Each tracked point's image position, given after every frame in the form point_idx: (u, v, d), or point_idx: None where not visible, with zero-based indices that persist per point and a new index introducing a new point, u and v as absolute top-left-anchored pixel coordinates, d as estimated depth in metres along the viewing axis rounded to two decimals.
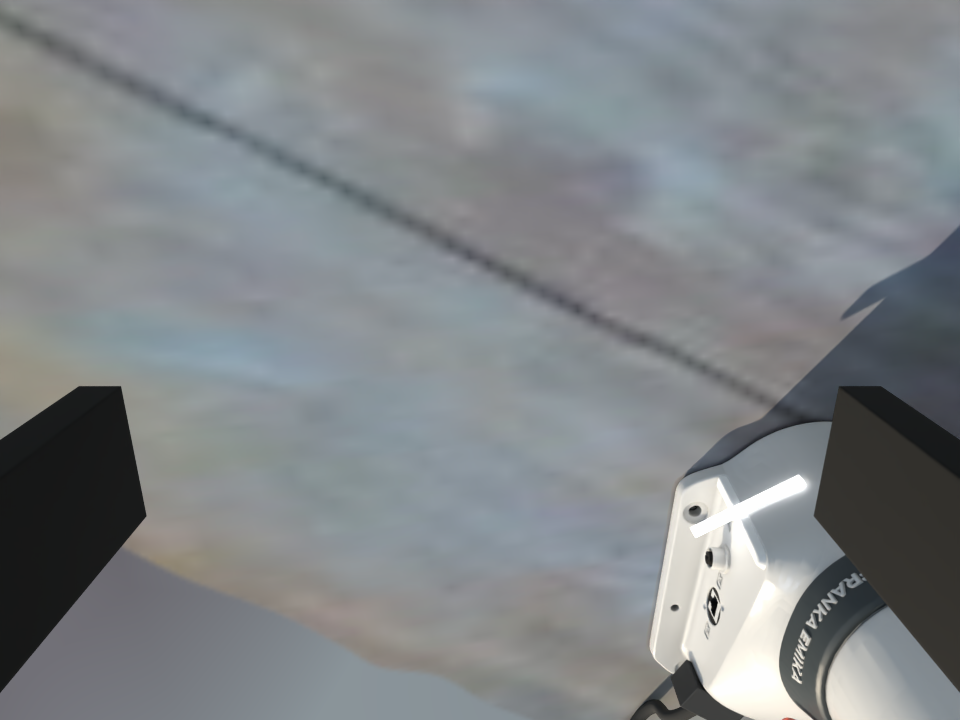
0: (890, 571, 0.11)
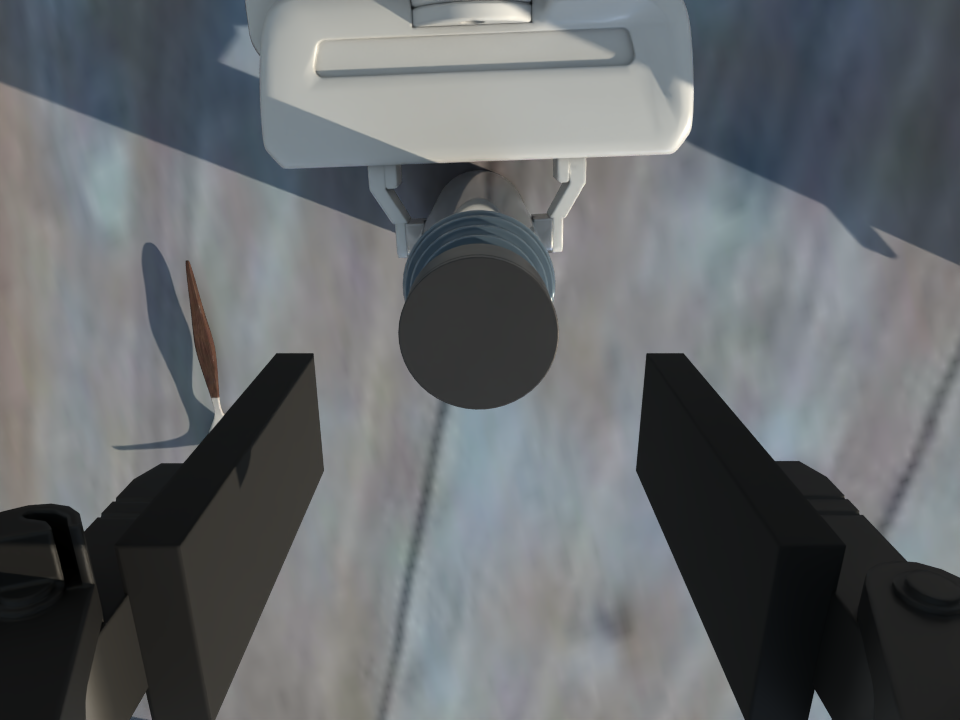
0: (667, 510, 0.12)
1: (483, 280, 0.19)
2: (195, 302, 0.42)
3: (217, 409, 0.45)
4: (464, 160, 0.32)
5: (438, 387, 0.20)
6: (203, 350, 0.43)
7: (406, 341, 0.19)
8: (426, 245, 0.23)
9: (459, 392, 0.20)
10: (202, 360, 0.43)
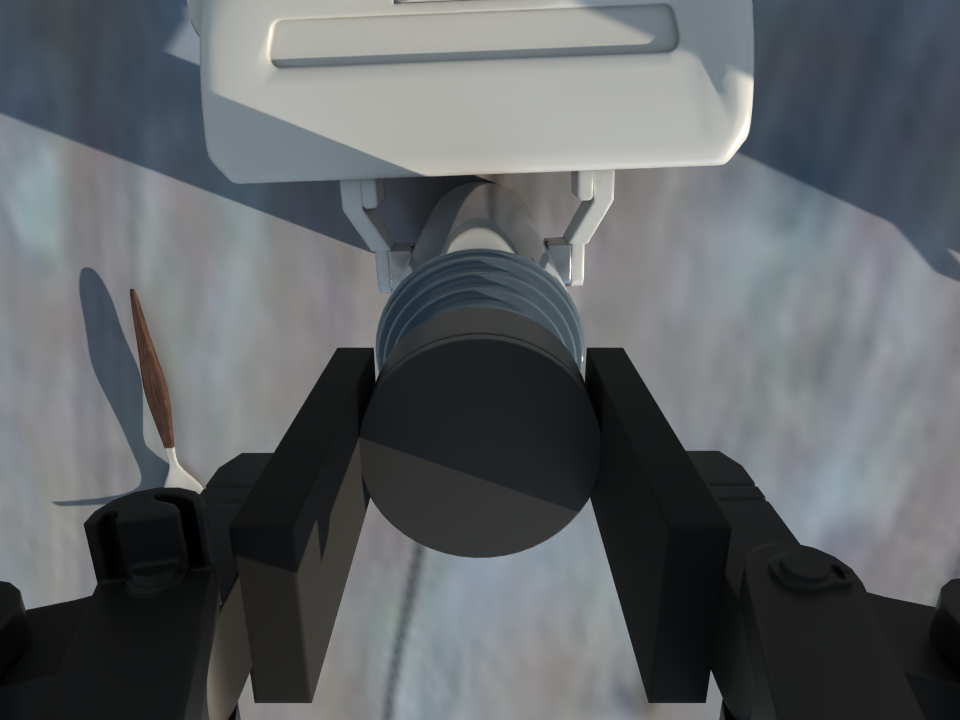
0: (599, 499, 0.13)
1: (487, 374, 0.12)
2: (142, 338, 0.35)
3: (172, 461, 0.38)
4: (461, 173, 0.25)
5: (419, 527, 0.13)
6: (154, 394, 0.36)
7: (369, 463, 0.13)
8: (406, 298, 0.17)
9: (451, 534, 0.13)
10: (153, 405, 0.37)
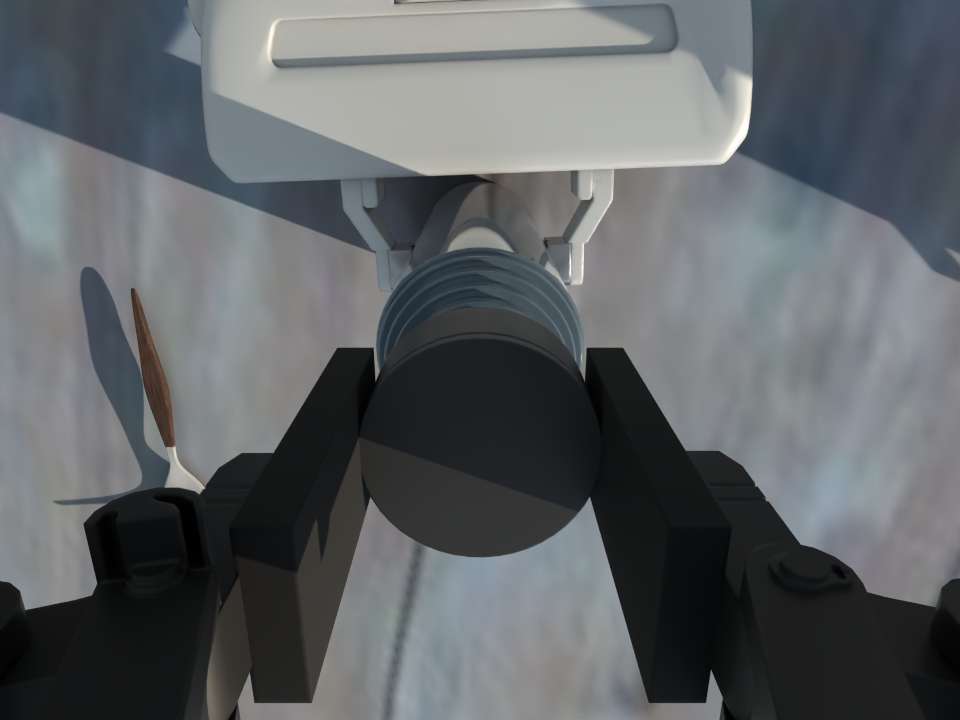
0: (599, 499, 0.13)
1: (396, 475, 0.13)
2: (143, 337, 0.35)
3: (173, 460, 0.38)
4: (461, 172, 0.25)
5: (579, 482, 0.13)
6: (155, 393, 0.36)
7: (523, 540, 0.13)
8: (407, 296, 0.17)
9: (578, 452, 0.12)
10: (153, 404, 0.37)
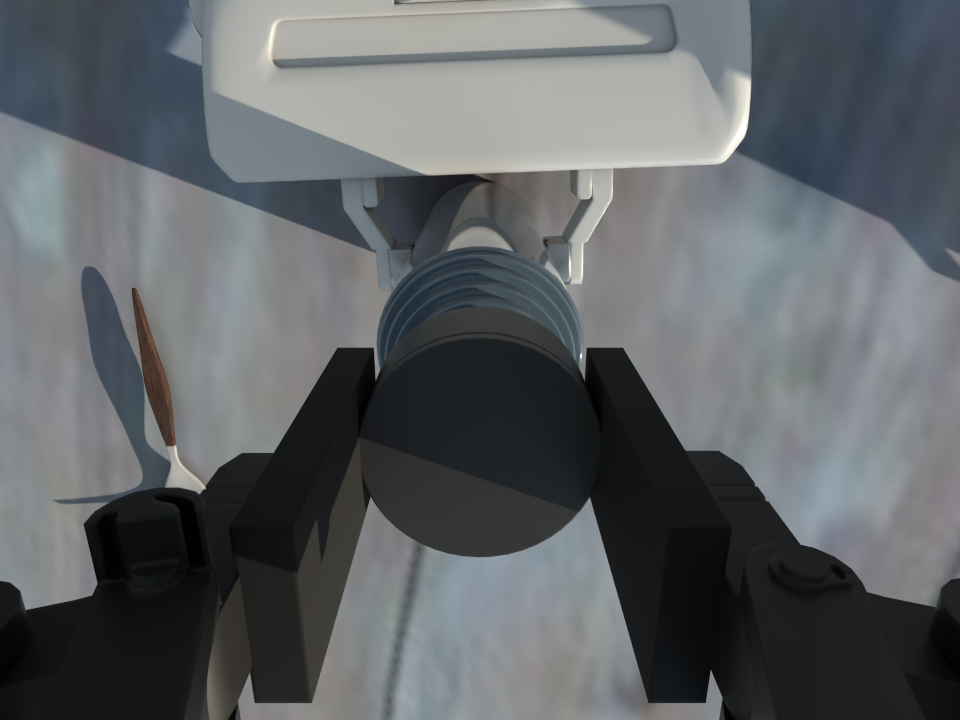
0: (599, 499, 0.13)
1: (527, 517, 0.13)
2: (144, 336, 0.36)
3: (174, 459, 0.38)
4: (461, 172, 0.25)
5: (475, 356, 0.12)
6: (155, 392, 0.37)
7: (563, 384, 0.12)
8: (407, 295, 0.17)
9: (443, 369, 0.12)
10: (154, 403, 0.37)
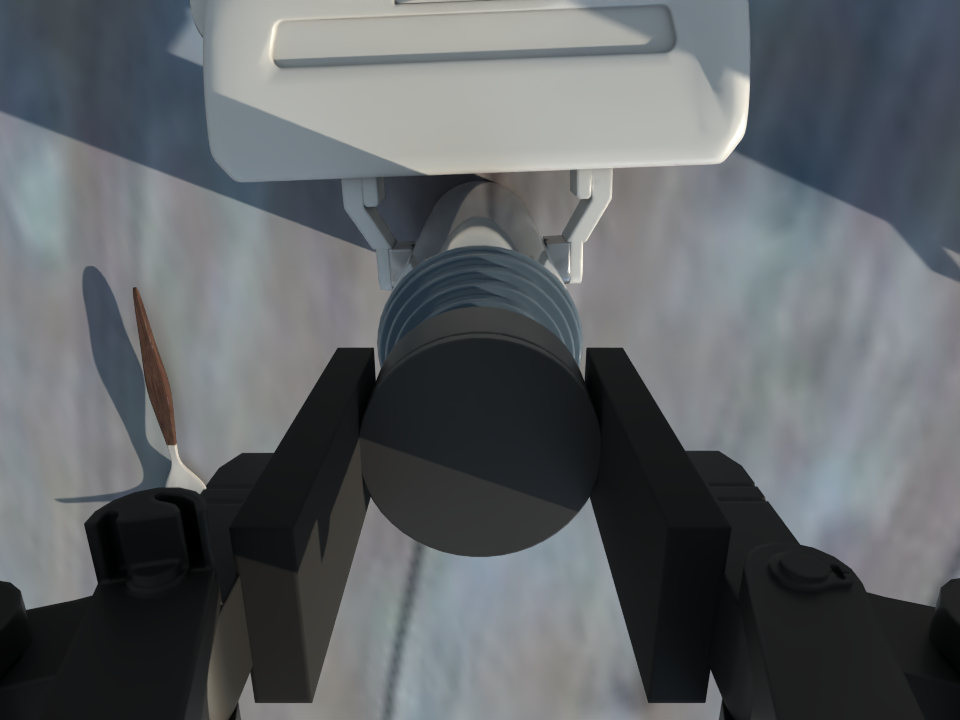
0: (599, 499, 0.13)
1: (533, 389, 0.12)
2: (145, 336, 0.36)
3: (174, 458, 0.38)
4: (461, 172, 0.26)
5: (384, 489, 0.13)
6: (156, 391, 0.37)
7: (378, 408, 0.12)
8: (408, 294, 0.17)
9: (408, 509, 0.13)
10: (155, 402, 0.37)
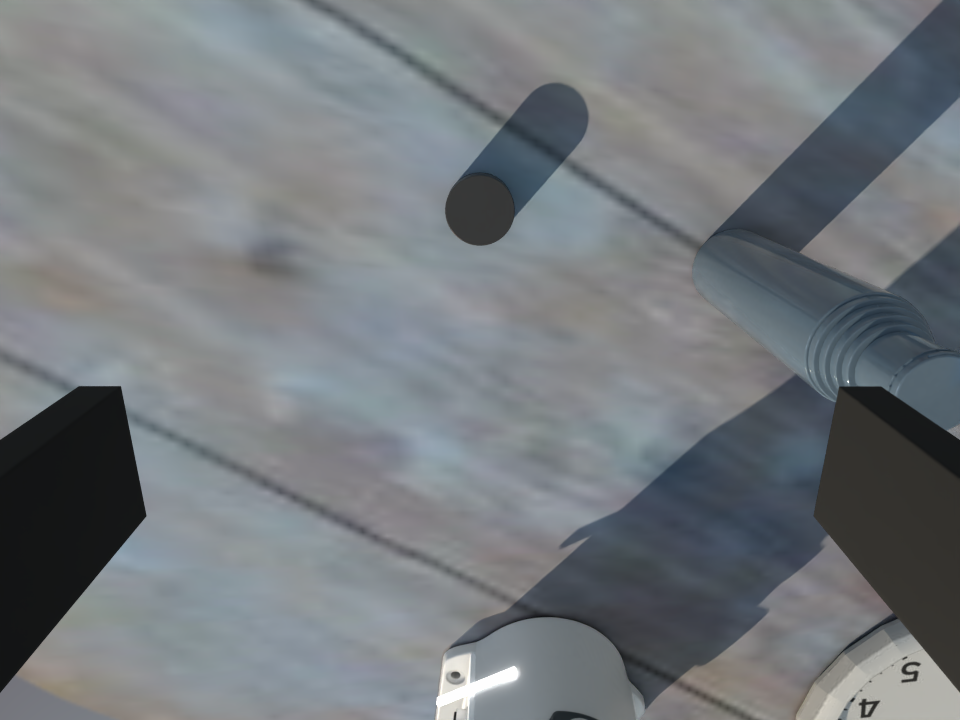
0: (889, 571, 0.11)
1: (494, 190, 0.44)
2: None
3: None
4: None
5: (452, 222, 0.44)
6: None
7: (451, 196, 0.44)
8: None
9: (459, 229, 0.45)
10: None
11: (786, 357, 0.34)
